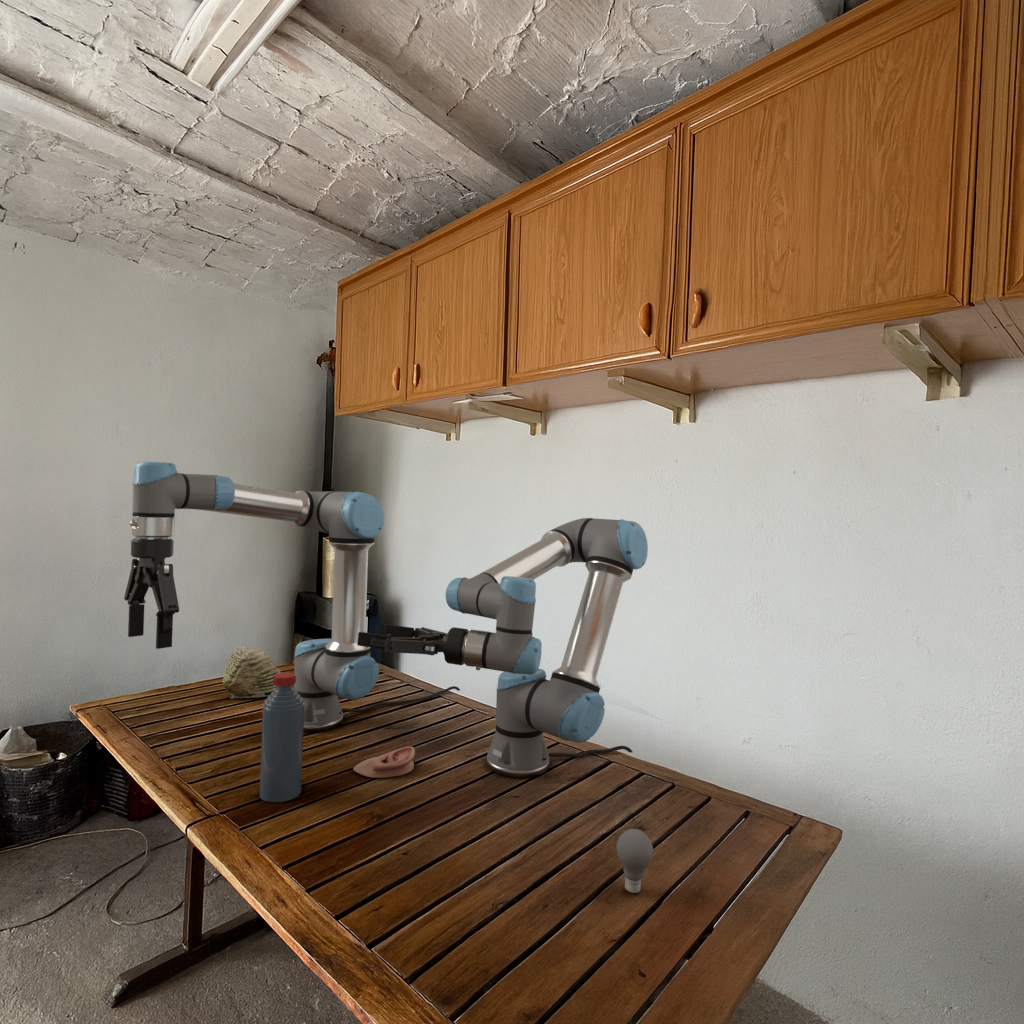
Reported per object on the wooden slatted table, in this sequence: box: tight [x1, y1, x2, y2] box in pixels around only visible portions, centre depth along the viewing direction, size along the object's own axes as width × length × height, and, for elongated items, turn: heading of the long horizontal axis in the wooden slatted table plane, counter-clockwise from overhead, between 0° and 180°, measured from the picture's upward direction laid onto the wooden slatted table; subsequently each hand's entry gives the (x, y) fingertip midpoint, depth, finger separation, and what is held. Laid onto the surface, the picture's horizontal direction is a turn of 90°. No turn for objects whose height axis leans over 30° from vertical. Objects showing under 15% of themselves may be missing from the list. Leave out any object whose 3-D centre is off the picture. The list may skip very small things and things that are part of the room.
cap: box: [273, 671, 296, 686], centre depth 134 cm, size 4×4×2 cm
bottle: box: [258, 684, 305, 803], centre depth 134 cm, size 8×8×25 cm
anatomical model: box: [352, 746, 416, 779], centre depth 149 cm, size 13×4×12 cm
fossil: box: [222, 646, 282, 699], centre depth 198 cm, size 9×18×15 cm, turn 132°
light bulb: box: [615, 828, 654, 894], centre depth 106 cm, size 6×6×10 cm
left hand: (149, 641), depth 129 cm, fingers open, 13 cm apart
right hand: (372, 634), depth 137 cm, fingers open, 13 cm apart
